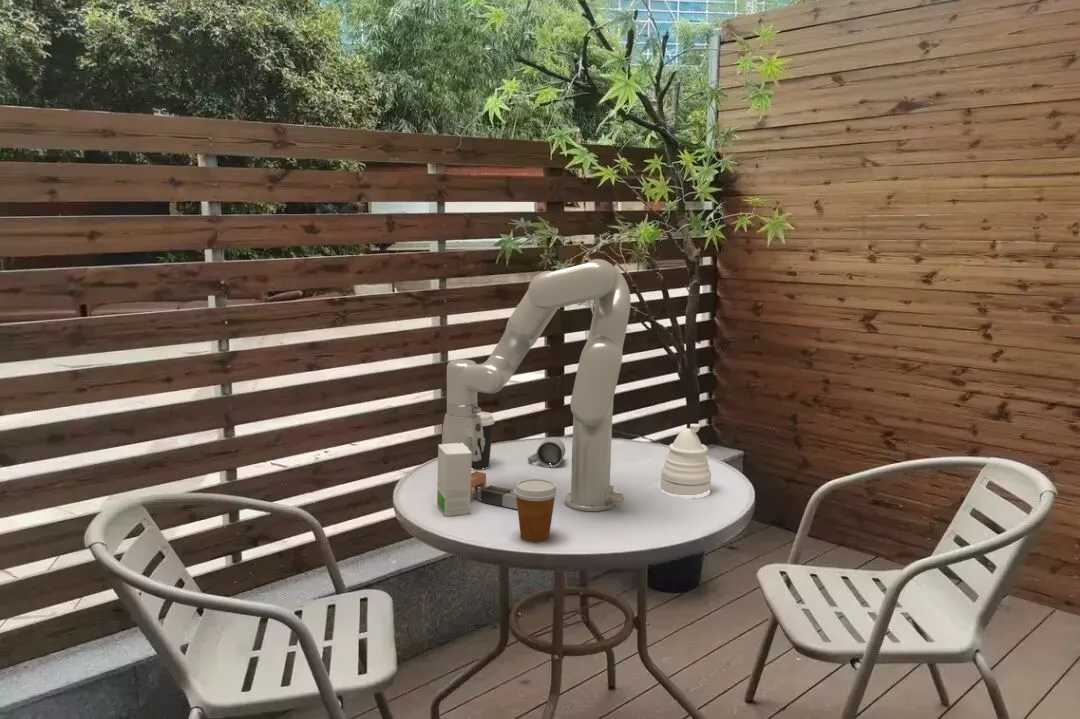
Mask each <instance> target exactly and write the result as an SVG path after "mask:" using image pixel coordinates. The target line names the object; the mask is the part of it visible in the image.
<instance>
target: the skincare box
mask: <svg viewBox="0 0 1080 719" xmlns="http://www.w3.org/2000/svg"><path fill="white" fill-rule="evenodd" d="M437 452H438V453H437V455H438V456H437V490H436V493H437V495H436V496H437V498H436V505H437V507H438V509H439V510H440V511H441V513H442V514H443V516H444V517H445V518H446V517H453V516H454V517H455V516H463V515H470V514H471V502H470V495H471V473H472V469H471V467H472V452H471V451H470V450H469V449H468V447H467V446H465V445H464V444H463V443H451V444H442V443H441V444H439V443H438V449H437Z"/></svg>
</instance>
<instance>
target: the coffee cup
mask: <svg viewBox="0 0 1080 719" xmlns="http://www.w3.org/2000/svg"><path fill="white" fill-rule="evenodd" d="M477 415H480V417H481V421H482V427H483V437H484V451H483V452H482V453H480V454H481V460H479V461H473V462H472V467H471V468H473V469H482V468H486V467H488V466H489V467H490V460H491V459H490V458H491V448H492V447H491V446H492V436H493V429H494V428H493V427H494V424H495V422H496V420H495V419H494V417H493V414H492V413H491V412H488V411H487V412H486V411H481V412H480V413H478V414H477ZM489 467H488V468H489Z"/></svg>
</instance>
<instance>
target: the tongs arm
mask: <svg viewBox="0 0 1080 719" xmlns="http://www.w3.org/2000/svg"><path fill="white" fill-rule="evenodd" d="M477 499H479V500H478V501H480V502H481V503H485V504H489V505H495V506H498V507H505V508H510V509H516V510H518V508H517V499H516V495H513V494H508V493H506V492H502V491H497V490H493V489H488V488H484V489H482V490H478V491H477Z"/></svg>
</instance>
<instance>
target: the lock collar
mask: <svg viewBox="0 0 1080 719" xmlns="http://www.w3.org/2000/svg"><path fill="white" fill-rule="evenodd" d="M476 485H482V486H483V489H484V488H486V487H487V472H482V471H478V470H475V471H472V472H471V495H470V503H471V502H472V501H473V500H472V499H473V493H474V494H475V486H476Z"/></svg>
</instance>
